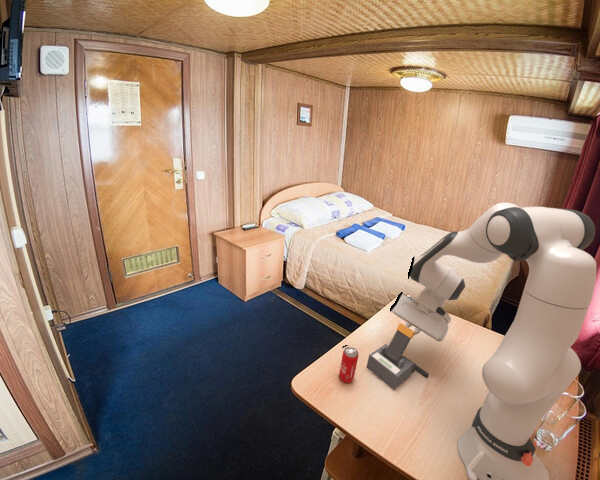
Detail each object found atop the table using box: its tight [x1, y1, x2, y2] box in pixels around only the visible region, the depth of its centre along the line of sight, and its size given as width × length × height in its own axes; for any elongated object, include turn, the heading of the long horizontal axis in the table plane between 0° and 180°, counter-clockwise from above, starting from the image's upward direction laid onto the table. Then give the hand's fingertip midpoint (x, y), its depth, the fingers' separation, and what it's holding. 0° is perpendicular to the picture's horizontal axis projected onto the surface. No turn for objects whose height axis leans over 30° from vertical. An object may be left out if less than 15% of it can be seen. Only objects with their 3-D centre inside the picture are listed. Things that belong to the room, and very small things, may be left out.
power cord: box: [403, 355, 430, 378], centre depth 112 cm, size 11×5×2 cm, turn 40°
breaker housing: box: [366, 343, 414, 391], centre depth 109 cm, size 12×12×9 cm
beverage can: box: [338, 346, 359, 384], centre depth 104 cm, size 5×5×12 cm
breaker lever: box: [383, 323, 416, 364], centre depth 107 cm, size 6×2×13 cm, turn 40°
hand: (407, 336), depth 110 cm, fingers closed
